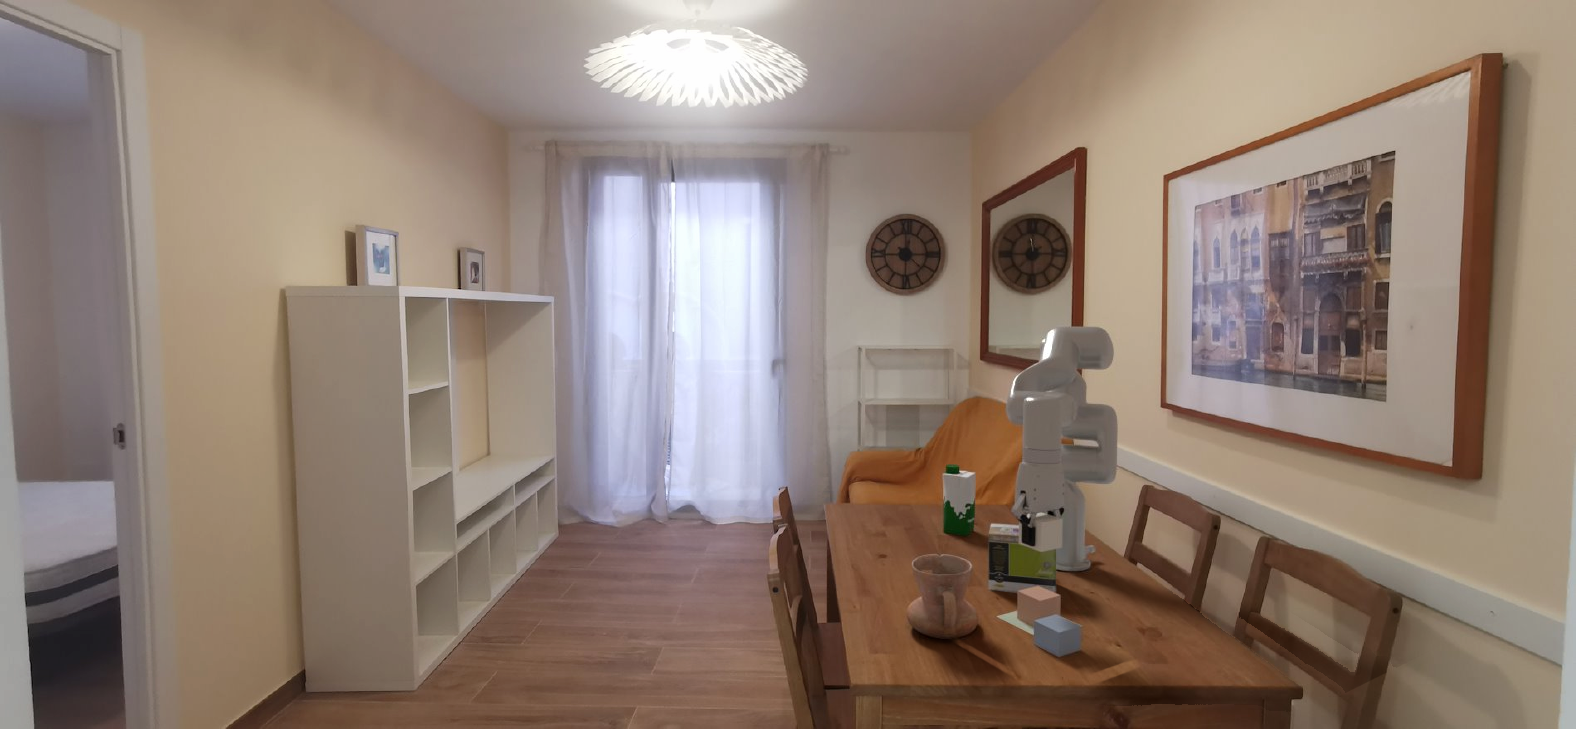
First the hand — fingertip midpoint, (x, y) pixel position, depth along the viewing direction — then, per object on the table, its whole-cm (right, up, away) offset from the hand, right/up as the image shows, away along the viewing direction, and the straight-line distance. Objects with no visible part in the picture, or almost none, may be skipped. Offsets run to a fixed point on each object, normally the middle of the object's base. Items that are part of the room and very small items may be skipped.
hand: (1040, 541), depth 146 cm
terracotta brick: (0, -17, +1) cm, 17 cm away
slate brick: (-1, -19, -10) cm, 22 cm away
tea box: (+3, -17, +21) cm, 27 cm away
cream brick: (0, -1, 0) cm, 1 cm away
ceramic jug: (-21, -19, -1) cm, 28 cm away
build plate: (0, -18, +1) cm, 18 cm away
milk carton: (0, -14, +68) cm, 69 cm away
